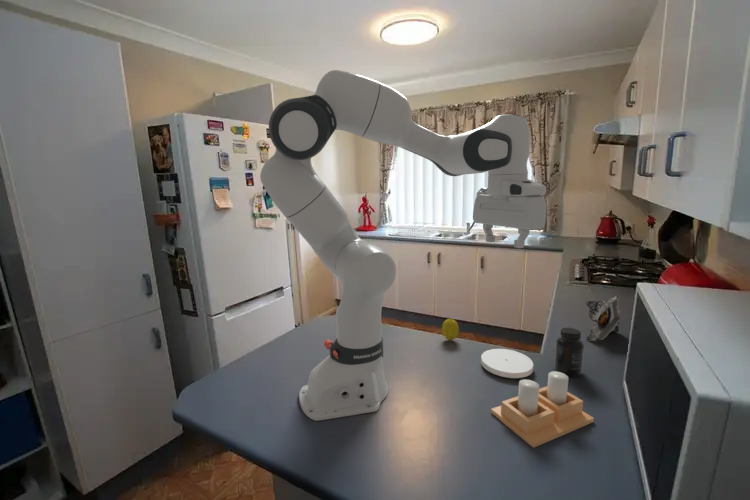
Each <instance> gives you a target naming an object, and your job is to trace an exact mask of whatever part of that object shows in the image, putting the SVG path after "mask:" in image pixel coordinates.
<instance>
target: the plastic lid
mask: <svg viewBox="0 0 750 500" xmlns="http://www.w3.org/2000/svg"><path fill="white" fill-rule="evenodd" d="M480 364H481V366H482V367H483V368H484V369H485V370H486V371H487V372H489V373H491V374H493V375H496V376H498V377H503V378H508V379H523V378H526V377H528V376H531V375H532V374H533V372H534V362H533V360H532V359H531V358H530V357H529V356H528V355H526V354H524V353H521V352H519V351H517V350H512V349H508V348H492V349H488V350H485V351H483V352H482V353H481V356H480Z"/></svg>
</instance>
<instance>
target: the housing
mask: <svg viewBox="0 0 750 500" xmlns="http://www.w3.org/2000/svg"><path fill="white" fill-rule="evenodd" d="M547 375H548V376H547V385H546V386H543V387H539V397H538V410H537V415H534V416H532V417H529V418H528V417H527V416H525V415H524V414H523V413H521V412H520V411H518V410H517V407H518V395H517V396H514V397H511V398H509V399H506V400H502V401H501V405H499V406H495V407H492V408H491V409H490V413H491V414H492V415H493V416H494V417H496V418H497V419H498V420H499V421H500V422H502V423H503V424H504V425H505V426H506V427H508V428H509V429H510V430H511V431H512V432H514V433H515V434H516V435H517V436H518V437H520V438H521V439H522V440H523V441H524V442H526V443H527V444H528V445H530V446H531V447H532V448H533V449H534V448H536V447H539V446H542V445H543V444H545V443H548V442H551V441H553V440H555V439H557V438H560V437H563V436H564V435H567V434H569V433H571V432H573V431H576V430H578V429H581V428H583V427H585V426H587V425H590V424H592V423H594V421H595V420H594V419H595V418H594V417H593V416H591V415H589V414H588V413H586V412H585V411H583V407H584V405H583V404H584V400H583V399H580V398H579V397H577V396H576V395H574V394H572V393H571V392H569V391H568V387H569V386H568V385H569V376H567V375H565V374H564V373H561V372H557V371H556V370H554V371H550V372H548V374H547Z"/></svg>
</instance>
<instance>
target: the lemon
mask: <svg viewBox="0 0 750 500" xmlns="http://www.w3.org/2000/svg"><path fill="white" fill-rule="evenodd" d="M459 330H460V327H459V323H458V322H457V321H456V320H455V319H453V318H452V317H451V318H447V319H446V320H445V321H443V323H442V326H441V333H442V336H443V337H444V338H445V339H446V340H448V341H449V342H450V341H453V340H455V339H457V337H458V335H459V333H460V331H459ZM445 336H446V337H445Z"/></svg>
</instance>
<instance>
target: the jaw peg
mask: <svg viewBox="0 0 750 500" xmlns="http://www.w3.org/2000/svg"><path fill="white" fill-rule="evenodd" d="M539 389H540V384H539V383H538V382H536V381H534V380H531V379H520V380H519V381H518V395H517V396H518V407H517V410H518V411H520V412H521V413H523V414H524V415H525V416H527V417H528V418H529V417H532V416H534V415H537V410H538V397H539Z"/></svg>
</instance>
